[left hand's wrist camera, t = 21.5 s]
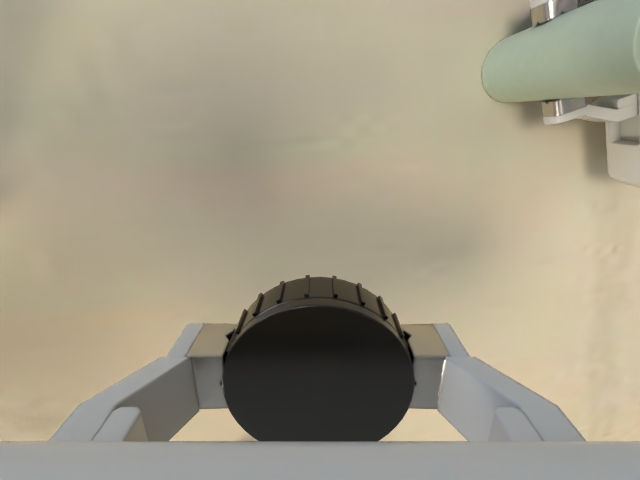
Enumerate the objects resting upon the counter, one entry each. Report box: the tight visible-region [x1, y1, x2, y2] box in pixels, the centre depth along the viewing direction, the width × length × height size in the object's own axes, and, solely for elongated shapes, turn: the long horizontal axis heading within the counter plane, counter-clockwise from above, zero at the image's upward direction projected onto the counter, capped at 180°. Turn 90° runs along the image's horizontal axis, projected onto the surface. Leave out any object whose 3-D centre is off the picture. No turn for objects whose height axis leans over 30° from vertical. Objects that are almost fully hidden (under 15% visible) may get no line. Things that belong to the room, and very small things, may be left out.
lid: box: [222, 275, 415, 442], centre depth 10 cm, size 5×5×2 cm
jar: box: [482, 0, 640, 103], centre depth 19 cm, size 5×5×14 cm
